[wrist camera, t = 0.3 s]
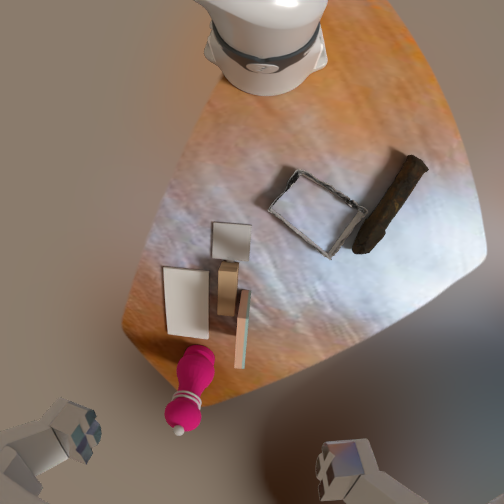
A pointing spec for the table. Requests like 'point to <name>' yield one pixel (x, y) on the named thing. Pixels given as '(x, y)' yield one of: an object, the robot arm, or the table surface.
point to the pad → (187, 302)
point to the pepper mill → (190, 388)
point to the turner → (229, 261)
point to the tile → (242, 329)
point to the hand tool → (389, 205)
